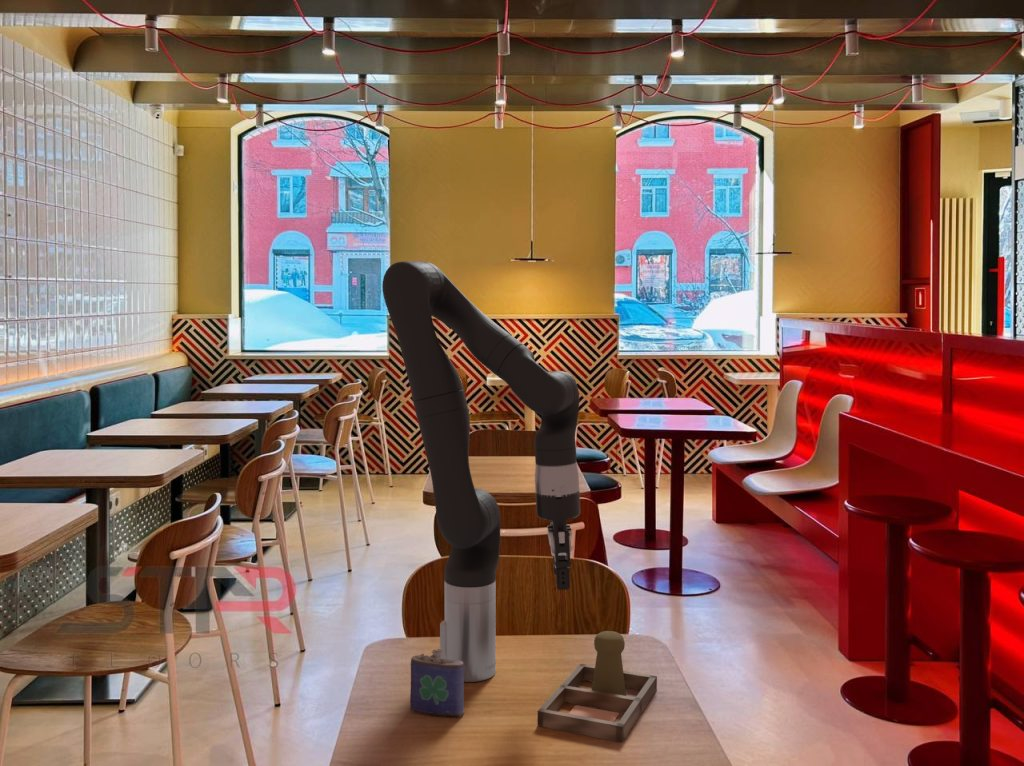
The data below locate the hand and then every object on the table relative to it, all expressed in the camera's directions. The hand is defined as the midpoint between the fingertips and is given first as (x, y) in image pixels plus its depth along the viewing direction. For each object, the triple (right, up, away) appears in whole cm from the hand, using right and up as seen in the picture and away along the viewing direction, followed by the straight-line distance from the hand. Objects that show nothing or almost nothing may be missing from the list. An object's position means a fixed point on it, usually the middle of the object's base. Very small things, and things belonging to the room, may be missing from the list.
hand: (561, 581), depth 165 cm
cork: (+8, -20, -1) cm, 21 cm away
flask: (-21, -20, -7) cm, 30 cm away
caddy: (+6, -20, -5) cm, 21 cm away
